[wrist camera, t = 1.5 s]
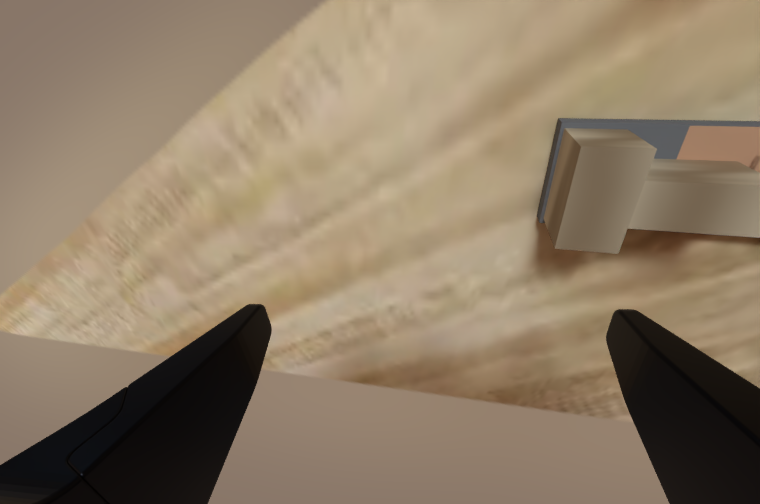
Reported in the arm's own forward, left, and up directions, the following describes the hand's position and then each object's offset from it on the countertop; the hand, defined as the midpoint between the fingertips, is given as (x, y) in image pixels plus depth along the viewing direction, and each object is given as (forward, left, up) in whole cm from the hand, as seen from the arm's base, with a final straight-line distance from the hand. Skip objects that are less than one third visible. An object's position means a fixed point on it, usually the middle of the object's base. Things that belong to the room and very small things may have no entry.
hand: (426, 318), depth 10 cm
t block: (-9, 0, -11) cm, 14 cm away
